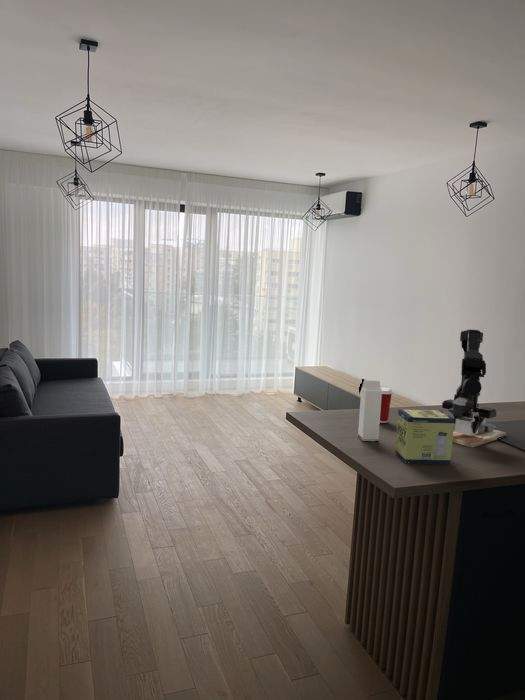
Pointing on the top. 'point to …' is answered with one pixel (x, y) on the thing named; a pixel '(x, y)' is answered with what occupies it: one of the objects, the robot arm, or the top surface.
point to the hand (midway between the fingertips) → (466, 431)
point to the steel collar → (465, 426)
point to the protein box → (424, 436)
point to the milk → (370, 410)
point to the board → (476, 438)
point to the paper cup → (385, 403)
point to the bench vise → (485, 427)
